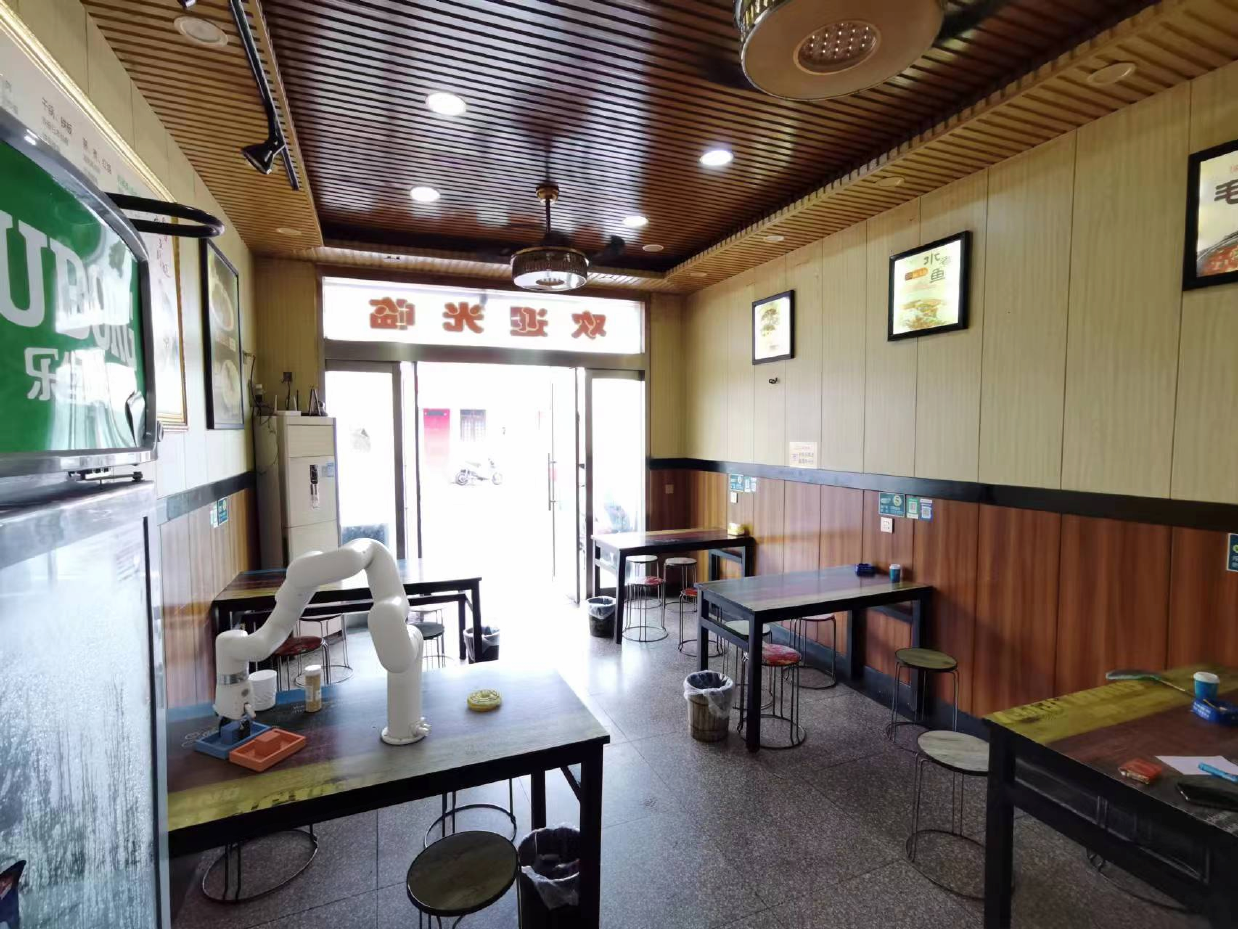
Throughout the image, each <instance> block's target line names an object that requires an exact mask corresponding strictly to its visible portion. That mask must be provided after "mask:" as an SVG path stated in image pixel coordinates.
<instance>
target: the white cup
mask: <svg viewBox="0 0 1238 929" xmlns="http://www.w3.org/2000/svg"><path fill="white" fill-rule="evenodd" d="M277 674H278V673H277V671H276V670H273V669H263V670H258V671H254V672H252V673H249V680H250V681H251V684H252V689H253V695H254V712H255V711H257V712H258V711H266V710H268V709H270V708H272V707H274V706H275V704H276V694H277Z"/></svg>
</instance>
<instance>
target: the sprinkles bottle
mask: <svg viewBox="0 0 1238 929" xmlns="http://www.w3.org/2000/svg"><path fill="white" fill-rule="evenodd" d="M321 673H322V666H321V665H320V664H312V665H309V666H306V667H305V668H304V676H305V677H304V678H305V685H304V686H305V687H304V688H305V711H306V712H308V713H313V712H318V711H319V710H321V709H322V707H323V706H322V705H323V704H322V679H321V678H322V677H321Z"/></svg>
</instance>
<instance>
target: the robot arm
mask: <svg viewBox="0 0 1238 929" xmlns="http://www.w3.org/2000/svg"><path fill="white" fill-rule="evenodd" d="M363 570H364V572H365V574H366V580H367V585H368V588H369V590H370V593H371V597H372V601H373V605H372V606H371V608H370V610H369V612H368V614H367V629H368V632H369V634H370V638H371V641H372V643H373V647H374V649H375V652H376V655H377V659H378V661H379V663H380V665H381V666H382V668H383V669H385V670H386V671H387V672H386V725H387V726H385V727H384V728H383V729H382V730H381V734H380V735H381V740H382V741H383V742H385V743H386V744H389V745H397V746H398V745H407V744H412V743H416V741H419V740H421V739H422V738H423V737H428V736H429V735H430V732H431V730H432V727H433V726H432V725H430V724H427V723H426V717H424V716H423V661H424V645H425V644H424V643H425V642H424V637H423V634H422V632H421V630H420V629H419V628H418V627H416V626H415V625H412V624H407V623H406V620H407V618H408V617H409V614H410V610H411V605H410V602H409V598H408V597H407V594H406V593H407V592H406V590H405V587H404V585H403V581H402V578H401V577H400V576H401V575H400V573H399V570H398V566H397V564H396V560H395V559H394V557H393V555H392V553H391V551H390V550H389V548H388V547H387V546H386V545H384V544H383V543H382V542H380V541H378V540H376V539H373V538H369V537H368V538H367V537H358V538H354V539H351V540H349V541H348V542H346V543H344V544H343V545H342V546H340V547H338V548H336V549H332V550H327V551H325V552H323V551H320V550H310V551H307V552H304V553H303V554H301V555H299V556H298V557H297V558H295V559H293V560H292V561H291V562H290V563H289V564H288V566H287V568H286V573H285V576H286V578H285V580H284V581H283V582H282V584H281V585H280V587H279V588H278V590H277V591H276V593H275V595H274V600H275V602H276V604H275V607H274V608H273V610H272V612H271V614H270V615H269V616H268V617H267V620H266V621H265V622H264V624H262V626H261V627H259V628H258V629H257V630H255V631H254V632H252V633H250V634H248V632H247V631H245V630H243V629H231V630H226V631H224V632H221V633H220V634H218V635H217V636H216V639H215V663H216V665H215V666H216V686H215V696H214V697H215V701H214V702H215V703H213V704H212V709H213V711H214V715H215V717H216V718H217V719H216V722H217V723H218V730H219V737H221V727H223V726H225V725H227V724H229V723H231V722H232V720H234V721H237V722H238V725H239V728H240V729H238V742H239V741H241V740H243V739H245V738H247V737H249V736H250V725H252V722H255V719H256V718H257V714H256V713H255V711H254V695H253V689H252V684H251V681H250V680H249V675H250V662H251V663H259V662H263V661H265V660H266V659H268V658H269V657H270V656H271V655H272V654H273V653H274V652H275V651H276V650H277V649H278V648H279V647H281V646H282V645H283V644H284V643H285V641H286V640H287V639H288V638H289V636H290V634H291V633H292V631H293V630H294V628H295V627H296V625H297V624H298V622H299V620H300V619H301V617H302V615H303V614H304V613H305V612H304V611H305V609H306V607H307V606H308V604H310V601H311V600H312V598H313V597H314V595H315V594H316V592H317V591H318V590H319V588H320V586H325V585H328V584H332V583H336V582H340V581H343V580H347V579H350V578H353V577H355V576H357V575H358V574H359V573H360V572H362V571H363ZM242 719H246V721H245V722H244V723H243V722H242Z"/></svg>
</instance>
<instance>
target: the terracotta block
mask: <svg viewBox="0 0 1238 929" xmlns="http://www.w3.org/2000/svg"><path fill="white" fill-rule="evenodd" d="M254 741H255V754H256V755H260V756H263V757H268V756H270V755H271V754H273V753H275V752H277V751H279V750H281V734H279V733H275V732H272V730H271V731H268V732H266V733H264V734H262V735H260V736H258V737H256V738H254Z"/></svg>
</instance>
